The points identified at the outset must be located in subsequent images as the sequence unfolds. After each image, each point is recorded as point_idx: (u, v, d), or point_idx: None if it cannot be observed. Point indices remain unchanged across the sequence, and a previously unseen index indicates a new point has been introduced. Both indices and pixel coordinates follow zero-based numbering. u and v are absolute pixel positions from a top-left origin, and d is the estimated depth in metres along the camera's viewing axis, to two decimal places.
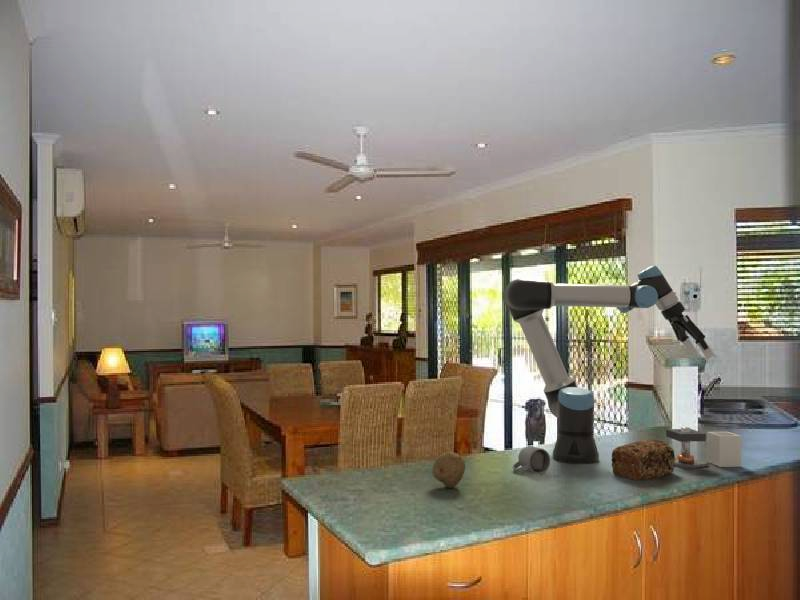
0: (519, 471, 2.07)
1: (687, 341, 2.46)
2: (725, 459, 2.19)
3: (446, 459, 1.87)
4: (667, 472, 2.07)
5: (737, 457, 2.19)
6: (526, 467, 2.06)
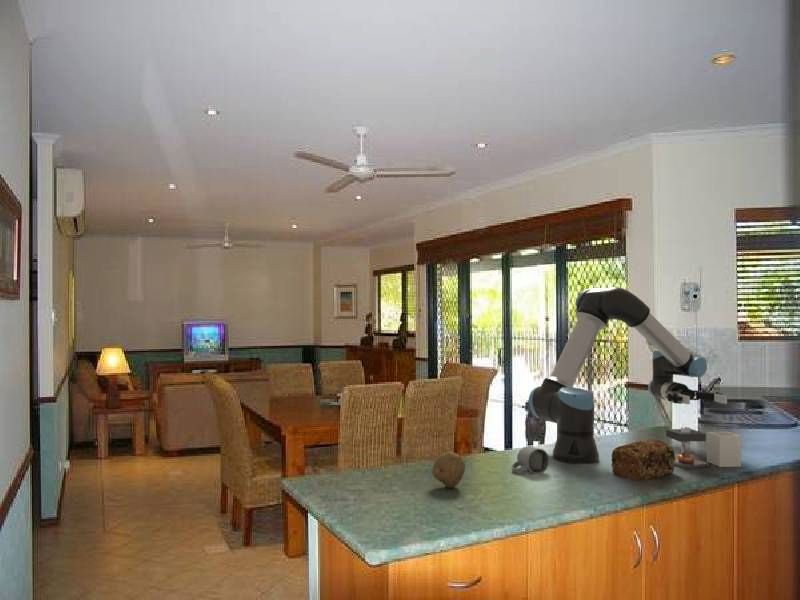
0: (518, 471, 2.06)
1: None
2: (725, 459, 2.19)
3: (446, 459, 1.87)
4: (667, 472, 2.07)
5: (737, 457, 2.19)
6: (525, 467, 2.06)
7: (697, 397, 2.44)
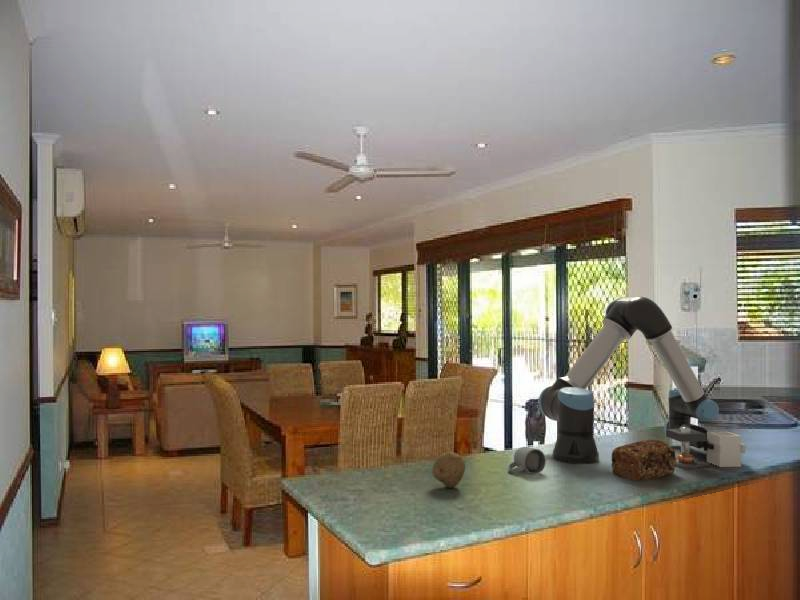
0: (514, 471, 2.06)
1: None
2: (725, 459, 2.19)
3: (446, 459, 1.87)
4: (668, 472, 2.06)
5: (737, 457, 2.19)
6: (521, 467, 2.06)
7: None
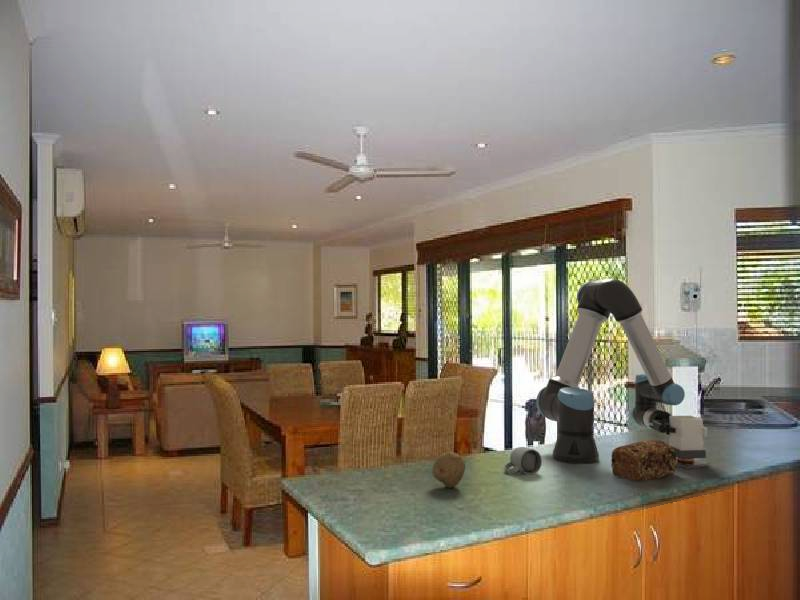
0: (510, 472, 2.06)
1: None
2: (686, 442, 2.18)
3: (446, 459, 1.87)
4: (668, 473, 2.06)
5: (699, 440, 2.18)
6: (517, 468, 2.05)
7: None
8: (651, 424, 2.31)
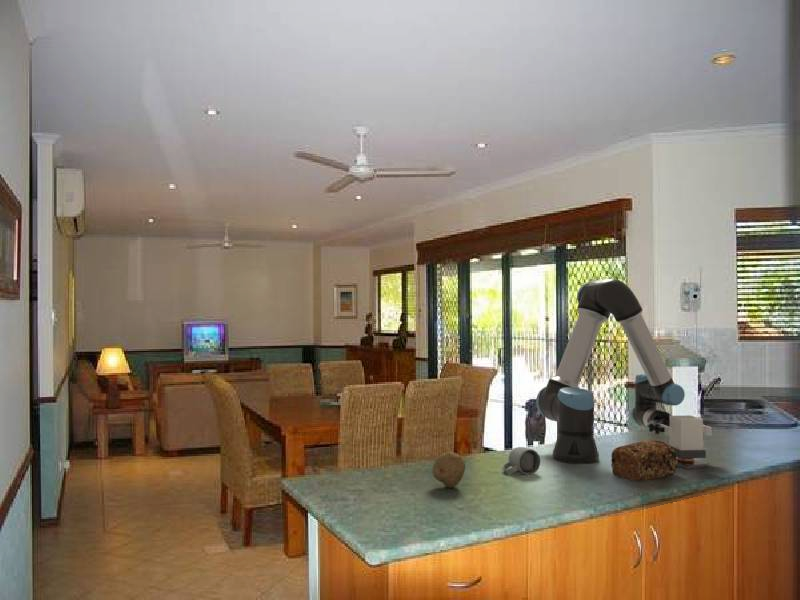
0: (509, 472, 2.05)
1: None
2: (686, 442, 2.18)
3: (446, 459, 1.87)
4: (668, 473, 2.06)
5: (699, 440, 2.18)
6: (516, 468, 2.05)
7: None
8: (648, 424, 2.33)
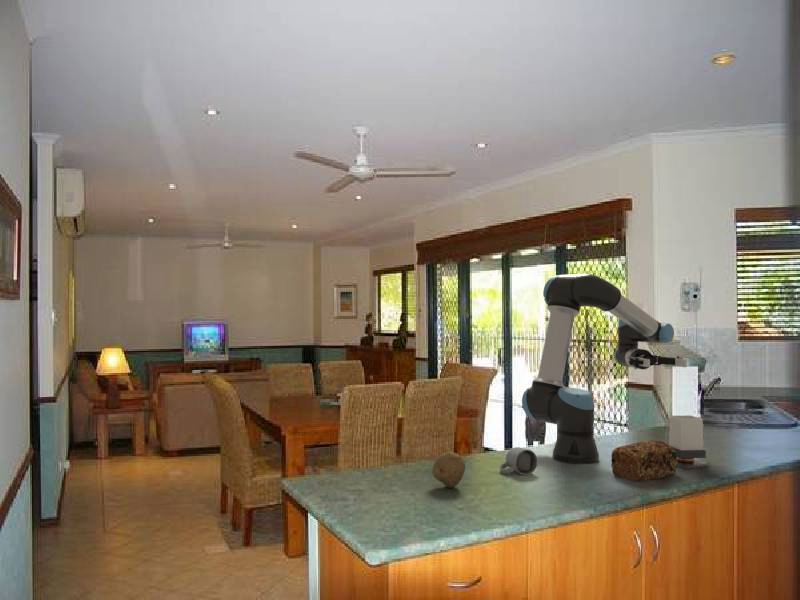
0: (506, 472, 2.05)
1: None
2: (686, 442, 2.18)
3: (446, 459, 1.87)
4: (668, 473, 2.05)
5: (699, 440, 2.18)
6: (513, 468, 2.05)
7: (659, 362, 2.48)
8: (629, 360, 2.50)
